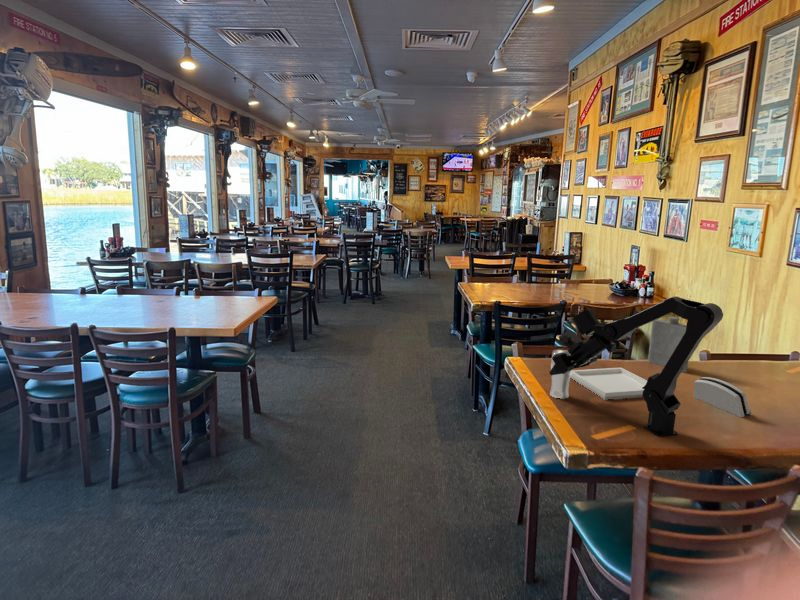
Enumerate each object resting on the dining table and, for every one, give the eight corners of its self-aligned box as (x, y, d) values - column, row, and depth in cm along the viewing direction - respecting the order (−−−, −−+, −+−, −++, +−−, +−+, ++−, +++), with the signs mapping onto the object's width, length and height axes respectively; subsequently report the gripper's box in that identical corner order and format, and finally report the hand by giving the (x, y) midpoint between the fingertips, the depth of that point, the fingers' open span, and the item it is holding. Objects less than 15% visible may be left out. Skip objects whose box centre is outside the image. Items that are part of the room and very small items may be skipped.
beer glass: (546, 397, 167) (550, 353, 164) (550, 390, 173) (554, 348, 170) (568, 401, 164) (572, 357, 161) (571, 394, 170) (575, 351, 167)
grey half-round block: (753, 415, 157) (750, 387, 154) (742, 422, 156) (739, 394, 152) (703, 395, 172) (700, 370, 169) (693, 401, 171) (690, 376, 168)
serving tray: (662, 395, 171) (663, 388, 170) (604, 400, 166) (605, 392, 165) (620, 373, 192) (621, 367, 191) (568, 377, 187) (568, 370, 186)
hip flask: (645, 361, 208) (651, 313, 204) (652, 359, 210) (658, 312, 206) (683, 373, 194) (690, 322, 190) (689, 371, 196) (697, 321, 192)
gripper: (592, 321, 167) (559, 346, 177) (560, 329, 155) (527, 355, 165) (612, 350, 162) (578, 373, 173) (581, 361, 150) (546, 385, 161)
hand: (557, 371), depth 168 cm, fingers open, 8 cm apart
